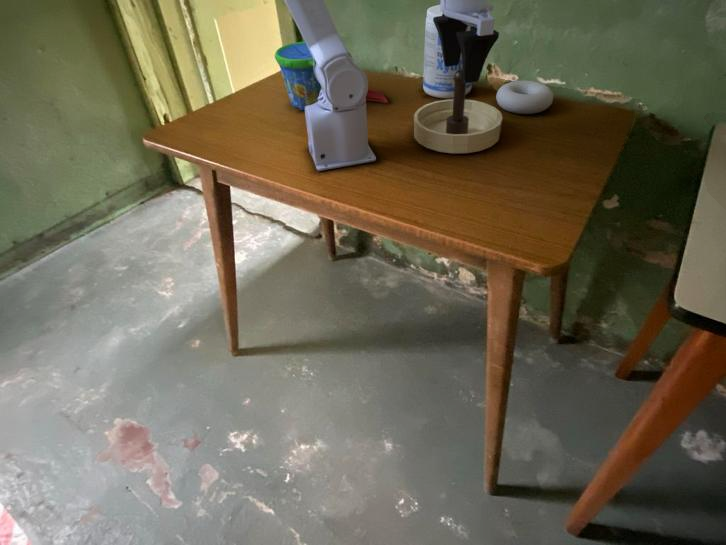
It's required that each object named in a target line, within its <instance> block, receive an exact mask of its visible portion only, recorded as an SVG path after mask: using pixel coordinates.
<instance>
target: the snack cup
mask: <svg viewBox="0 0 726 545" xmlns="http://www.w3.org/2000/svg"><path fill="white" fill-rule="evenodd" d="M274 59H275V61H276V63H277V64H278V66H279V68H280V73H281V77H282V79H283V82H284V86H285V89H286V92H287V95H288V100H289V102H290V105H291V106H292V107H294V108H296V109H298V110H300V111H305V107H306V106H309V105H312V104H315V103H316V102H318V97H319V94H320V91H321V89H322V86H321V85H320V83H319V82H318V81H317V79H316V77H315V74H314V62H313V58H312V55H311V53H310V51H309V49H308V47H307V45H306V42H305V41H297V42H293V43H292V42H291V43H289V44H284V45H282V46H281V47H279V48H278V49H276V50H275V53H274Z"/></svg>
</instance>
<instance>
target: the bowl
mask: <svg viewBox="0 0 726 545" xmlns="http://www.w3.org/2000/svg"><path fill="white" fill-rule="evenodd" d="M453 100H454V98H451V99H441V100H436V101H433V102H430V103H426V104H424V105H423V106H420V107H419V108H418V109H417V110H416V111H415V112H414V114H413V138H414V139H415V140H416V142H417V143H418V144H420V145H421V146H423V147H425V149H430V150H432V151H436V152H439V153H445V154H446V153H447V154H471V153H476V152H477V153H478V152H481V151H484V150H486V149H490V148H491V147H493V146H494V145H495V144H496V143H497V142H499V140H500V137H501V134H502V126H503V119H504V118H503V115H502V112H501V111H500V110H499V109H498V108H496V107H495V106H493V105H491V104H489V103H486V102H482V101H478V100H475V99H465V105H464V116H466V117H468V119H469V123H468V134H448V133H446V122H447V118H448V117H449V116H452V114H453Z"/></svg>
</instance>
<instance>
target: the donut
mask: <svg viewBox="0 0 726 545" xmlns="http://www.w3.org/2000/svg"><path fill="white" fill-rule="evenodd" d="M495 100H496V102H497V105H498V106H499V107H500V108H501V109H503V110H505V111H507V112H509V113H513V114H517V115H533V114H539V113H541V112H544V111H545V110H547V109H549V107H550V106H551V105H552V104H553V101H554V92H553V91H552V89H551V88H550V87H549V86H548V85H546V84H545V83H542V82H539V81H534V80H525V79H523V80H515V81H514V80H513V81H510V82H507V83H505V84H503V85H502V86H501V87H499V88H498V90H497V92H496V95H495Z"/></svg>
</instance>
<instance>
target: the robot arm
mask: <svg viewBox="0 0 726 545" xmlns="http://www.w3.org/2000/svg"><path fill="white" fill-rule="evenodd" d="M283 2H284V3H285V5H286V6H287V9H288V10H289V12H290V14H291V17H292V19H293V21H294V23H295V25H296V26H297V28H298V30H299V33H300V35H301V36H302V38H303V41H304V42H306V45H307V47H308V49H309V51H310V53H311V55H312V58H313V62H314V74H315V77H316V79H317V81H318V82H319V83H320V85H321V86H322V89H321V91H320V94H319V97H318V102H316V103H315V104H312V105H309V106H306V107H305V110H304V116H305V117H304V118H305V123H306V124H305V125H306V130H307V132H306V133H307V138H308V139H307V140H308V142H307V144H308V150H309V154H310V155H311V157H312V160H313V163H314V165H315V168H316V170H317V171H319V172H320V171H327V170H333V169H338V168H343V167H344V168H345V167H350V166H355V165H362V164H367V163H372V162H375V161H377V157H376V155H375V153H374V152H373V150H372V148H371V147H370V145H369V135H368V117H367V116H368V115H367V100H366V94H367V91H368V89H369V80H368V76H367V74H366V73H365V70H364V69H363V68H362V67H360V66H359V65H358V64H357V62H356V61H355V59H354V58H353V56H352V54H351V53H350V52H349V51H348V49H347V47H346V46H345V44H344V41H343V40H342V38H341V35H340V34H339V32H338V30H337V28H336V26H335V24H334V22H333V19H332V17H331V15H330V12H329V10H328V8H327V6H326V4H325V0H283ZM439 5H440V11H441V12H443V14H442V16H437V17H434V18H433V22H434V24H435V26H436V28H437V31H438V34H439V37H440V42H441V47H442V53H443V59H444V64H445V66H446V67H448V66H455V65H458V64H459V61H460V56H461V54H462V71H463V80H464V82H465V83H471V82H472V83H477V82H479V80H480V76H481V75H482V72H483V68H484V66H485V63H486V60H487V58H488V56H489V54H490V51H491V50H492V48H493V46H494V45H495V43H496V42H497V41H498V40H499V37H500V35H499V34H500V32H499V31H497V30H495V21H496V20H495V17H493V16H492V15H491V12H492V11H494V8H495V5H494V4H492V3H491V2H488V0H440V3H439ZM468 26H470V31H466V30H467V27H468Z"/></svg>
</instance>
